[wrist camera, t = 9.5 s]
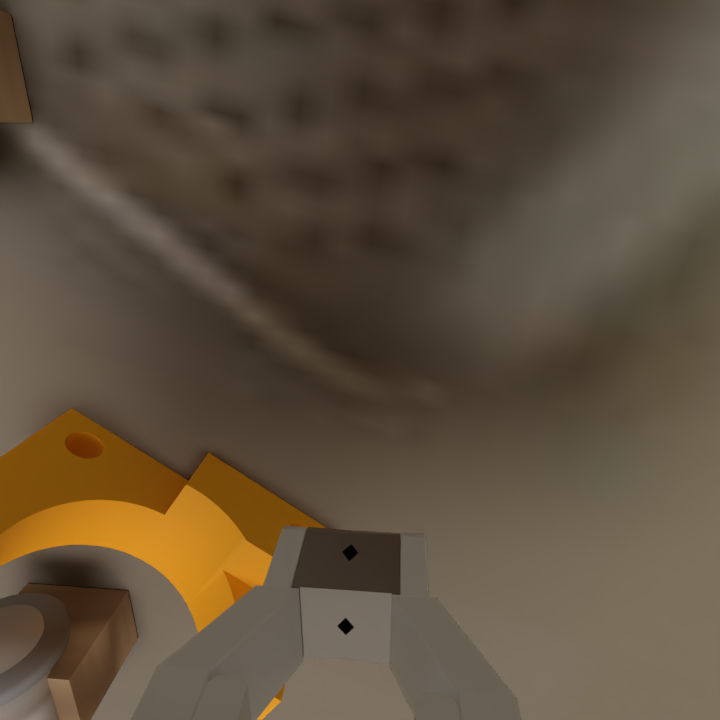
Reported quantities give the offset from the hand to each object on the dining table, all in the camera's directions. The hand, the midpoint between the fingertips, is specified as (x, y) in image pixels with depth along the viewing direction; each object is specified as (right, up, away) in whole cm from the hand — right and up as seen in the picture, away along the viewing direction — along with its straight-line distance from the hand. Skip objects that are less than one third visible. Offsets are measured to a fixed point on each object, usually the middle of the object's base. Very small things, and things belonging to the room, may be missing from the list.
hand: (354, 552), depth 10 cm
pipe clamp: (-7, -1, +11) cm, 13 cm away
